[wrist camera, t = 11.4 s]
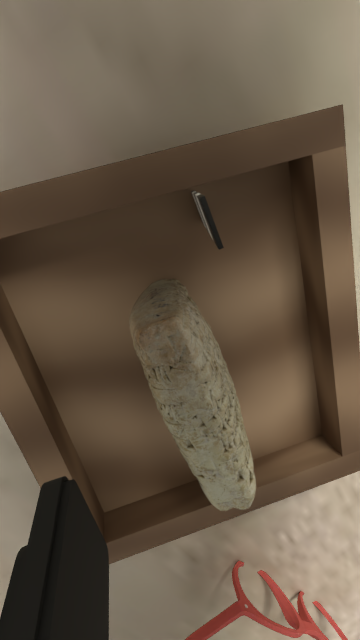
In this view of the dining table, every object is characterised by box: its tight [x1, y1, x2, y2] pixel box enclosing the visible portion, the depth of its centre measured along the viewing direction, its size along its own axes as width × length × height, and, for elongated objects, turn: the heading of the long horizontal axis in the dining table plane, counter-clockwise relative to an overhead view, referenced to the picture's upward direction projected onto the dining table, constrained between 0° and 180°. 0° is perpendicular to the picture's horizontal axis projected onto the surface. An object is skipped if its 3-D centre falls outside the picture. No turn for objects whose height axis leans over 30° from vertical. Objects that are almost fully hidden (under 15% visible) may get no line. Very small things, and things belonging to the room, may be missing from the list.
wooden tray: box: [0, 105, 360, 564], centre depth 17 cm, size 19×17×3 cm
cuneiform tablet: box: [129, 190, 256, 511], centre depth 14 cm, size 7×4×12 cm
